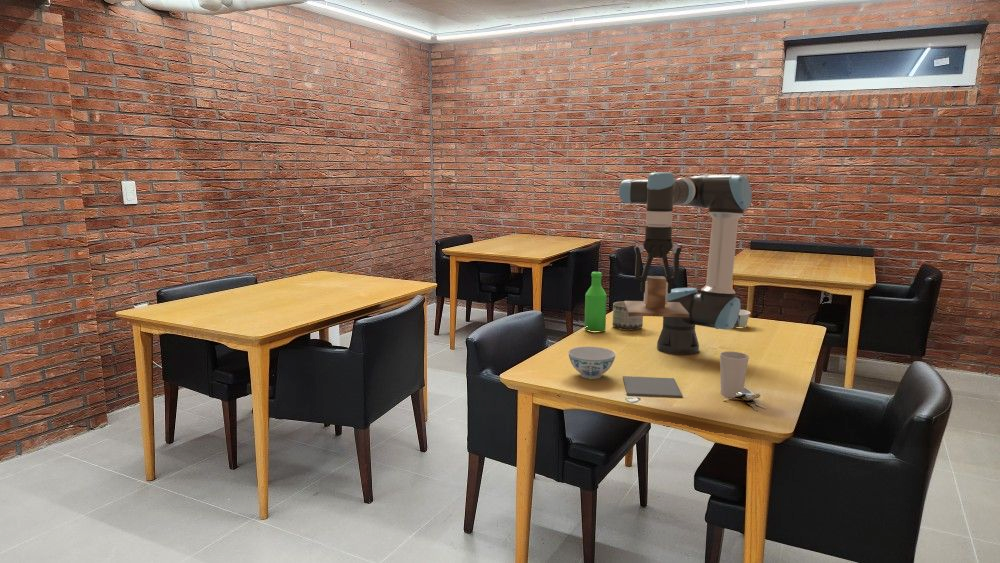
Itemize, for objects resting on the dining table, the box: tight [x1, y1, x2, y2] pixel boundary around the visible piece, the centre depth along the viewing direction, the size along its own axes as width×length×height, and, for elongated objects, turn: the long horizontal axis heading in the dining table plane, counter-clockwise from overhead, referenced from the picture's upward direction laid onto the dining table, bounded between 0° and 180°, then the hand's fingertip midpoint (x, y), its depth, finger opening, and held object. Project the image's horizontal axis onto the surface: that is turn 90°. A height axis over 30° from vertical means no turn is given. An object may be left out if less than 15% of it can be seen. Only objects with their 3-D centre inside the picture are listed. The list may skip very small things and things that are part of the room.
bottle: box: [584, 271, 608, 332], centre depth 256 cm, size 9×9×25 cm
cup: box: [719, 350, 750, 399], centre depth 181 cm, size 8×8×12 cm
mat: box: [622, 375, 684, 398], centre depth 187 cm, size 16×16×1 cm
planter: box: [612, 300, 644, 330], centre depth 262 cm, size 13×13×10 cm
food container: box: [733, 308, 751, 327], centre depth 267 cm, size 12×12×6 cm
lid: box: [624, 275, 689, 318], centre depth 183 cm, size 17×17×10 cm
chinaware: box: [568, 346, 616, 380], centre depth 198 cm, size 15×15×8 cm
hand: (655, 303), depth 183 cm, fingers closed on lid, 5 cm apart
